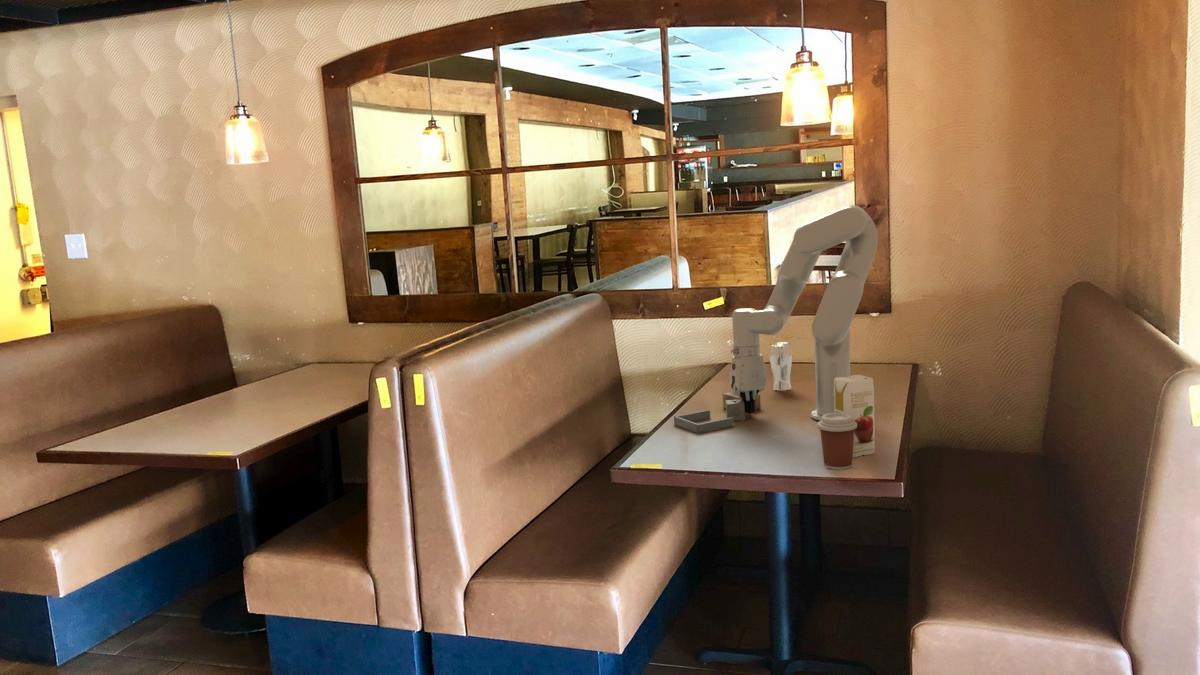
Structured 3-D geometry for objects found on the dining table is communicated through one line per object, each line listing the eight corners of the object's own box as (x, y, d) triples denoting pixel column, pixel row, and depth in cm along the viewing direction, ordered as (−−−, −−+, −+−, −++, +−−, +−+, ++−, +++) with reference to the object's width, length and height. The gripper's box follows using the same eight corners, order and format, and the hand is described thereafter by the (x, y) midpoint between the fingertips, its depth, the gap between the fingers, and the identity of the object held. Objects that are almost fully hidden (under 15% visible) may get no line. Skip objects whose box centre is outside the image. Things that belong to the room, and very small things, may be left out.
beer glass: (791, 386, 303) (790, 341, 300) (794, 391, 296) (792, 345, 294) (770, 387, 303) (768, 342, 301) (772, 392, 297) (770, 346, 294)
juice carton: (831, 452, 228) (829, 377, 225) (860, 446, 230) (858, 372, 227) (849, 459, 221) (848, 382, 218) (879, 454, 223) (878, 378, 220)
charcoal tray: (733, 425, 258) (733, 417, 258) (698, 433, 253) (697, 424, 252) (708, 417, 269) (708, 409, 269) (674, 424, 264) (673, 416, 263)
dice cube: (743, 415, 268) (742, 399, 268) (745, 420, 264) (744, 403, 263) (726, 416, 269) (725, 400, 268) (727, 421, 264) (726, 404, 263)
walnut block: (760, 408, 276) (760, 393, 275) (739, 412, 273) (738, 398, 272) (744, 403, 283) (744, 389, 282) (723, 408, 280) (722, 393, 279)
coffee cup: (835, 457, 223) (834, 409, 221) (866, 465, 216) (865, 415, 214) (810, 466, 218) (808, 417, 216) (841, 474, 210) (839, 423, 208)
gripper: (733, 356, 259) (735, 419, 261) (775, 349, 265) (777, 410, 268) (717, 352, 265) (720, 414, 268) (759, 346, 272) (761, 406, 275)
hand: (749, 412), depth 268 cm, fingers closed
